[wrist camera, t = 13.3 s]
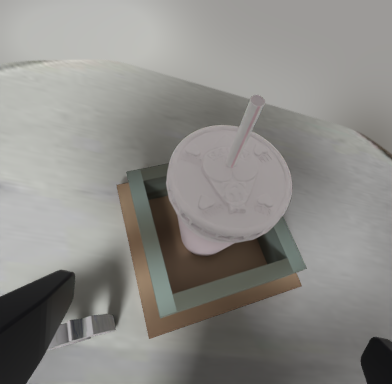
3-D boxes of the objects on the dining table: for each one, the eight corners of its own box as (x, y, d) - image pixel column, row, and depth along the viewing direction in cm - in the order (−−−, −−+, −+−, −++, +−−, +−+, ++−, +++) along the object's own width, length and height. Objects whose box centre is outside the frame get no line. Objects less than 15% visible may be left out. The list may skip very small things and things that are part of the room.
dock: (295, 287, 22) (326, 278, 18) (149, 338, 19) (147, 341, 15) (241, 165, 27) (257, 135, 23) (118, 191, 24) (109, 163, 20)
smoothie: (235, 196, 24) (318, 54, 11) (248, 271, 21) (376, 192, 9) (162, 199, 23) (165, 47, 11) (165, 277, 20) (174, 198, 8)
